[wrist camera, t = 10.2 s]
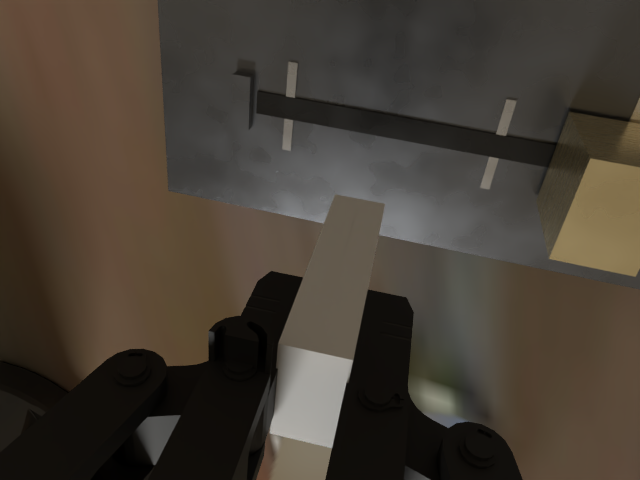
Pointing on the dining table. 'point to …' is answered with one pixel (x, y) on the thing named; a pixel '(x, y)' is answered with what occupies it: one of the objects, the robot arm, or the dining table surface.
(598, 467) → the dining table surface
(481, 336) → the dining table surface
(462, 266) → the dining table surface
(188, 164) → the console
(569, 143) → the block
